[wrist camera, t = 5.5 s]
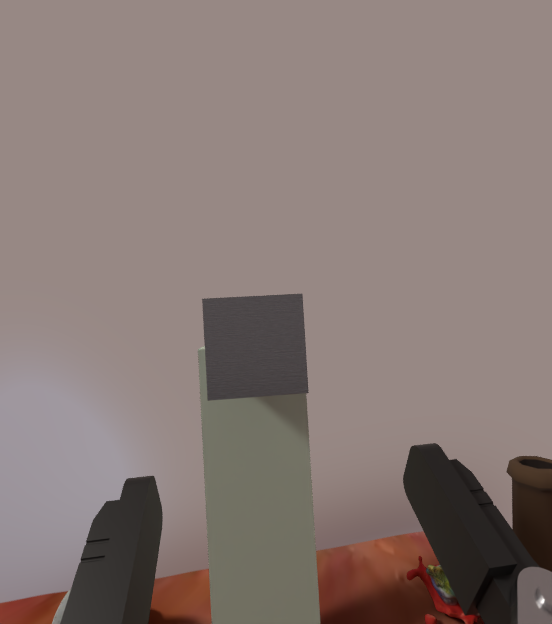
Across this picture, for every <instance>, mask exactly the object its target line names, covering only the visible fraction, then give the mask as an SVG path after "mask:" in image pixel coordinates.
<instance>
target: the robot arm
mask: <svg viewBox="0 0 552 624" xmlns="http://www.w3.org/2000/svg"><path fill="white" fill-rule="evenodd" d="M403 483H404V489H405V492H406V495H407V497H408V500H409V501H410V504H411V506H412V508H413V510H414V512H415V514H416V516H417V518H418V520H419V522H420V524H421V526H422V528H423V530H424V533H425V535H426V537H427V539H428V541H429V543H430V545H431V547H432V549H433V551H434V553H435V555H436V557H437V559H438V561H439V563H440V565H441V567H442V569H443V572H444V574H445V576H446V578H447V580H448V582H449V584H450V586H451V588H452V590H453V592H454V594H455V596H456V598H457V600H458V602H459V604H460V606H461V609H462V611H463V613H464V615H465V616H467V615H473V614H480V616H481V618H482V620H483V622H484V623H485V624H552V572H551V571H549V570H546V569H543V568H541V567H540V566H539V565H538V564H537V563H536V562H535V561H534V560H533V558H532V557H531V556H530V554H529V553H528V551H527V550H526V549H525V547H524V546H523V544H522V543H521V541H520V540H519V539H518V537H517V536H516V534H515V533H514V531H513V530H512V529H511V527H510V526H509V524H508V523H507V521H506V520H505V519H504V517H503V516H502V514H501V513H500V512H499V510H498V509H497V507H496V506H494V505H493V501H492V500H491V499H490V497H489V496H488V494H487V493H486V492H484V490H483V487H482V486H481V484H480V483H479V482H478V480H477V479H476V477H475V476H474V474H473V473H472V472H471V471H470V470H468V469H467V468H466V467H465V466H464V465H462V464H461V463H460V462H459V461H458V460H457V459H454V460H449V459H448V458H447V456H446V455H445V453H444V452H443V450H442V449H441V447H440V446H439V445H438V444H435V443H433V444H424V445H415V446H412V447H411V449H410V452H409V456H408V460H407V464H406V468H405V472H404V477H403ZM161 531H162V506H161V502H160V498H159V493H158V489H157V485H156V481H155V478H154V476H146V477H137V478H128V479H127V480H126V481H125V483H124V486H123V490H122V494H121V497H120V500H115V501H107V502H106V503H105V504H104V506H103V507H102V509H101V510H100V511H99V513H98V514H97V515H96V517H95V518H94V520H93V522H92V525H91V528H90V531H89V534H88V538H87V541H86V542H87V543H86V545H85V547H84V550H83V554H82V557H81V563H80V564H79V566H78V569H77V572H76V575H75V578H74V582H73V585H72V588H71V591H70V594H69V597H68V600H67V604H66V607H65V610H64V613H63V616H62V619H61V622H60V624H148V621H149V614H150V607H151V600H152V593H153V586H154V579H155V572H156V566H157V558H158V551H159V545H160V538H161Z"/></svg>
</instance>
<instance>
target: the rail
mask: <svg viewBox="0 0 552 624" xmlns="http://www.w3.org/2000/svg"><path fill="white" fill-rule="evenodd" d="M202 301H203V321H204V339H205V360H206V379H207V398H208V401H211V400H224V399H237V398H250V397H263V396H276V395H289V394H302V393H308V378H307V362H306V347H305V329H304V313H303V298H302V294H288V295H270V296H269V295H268V296H249V297H229V298H210V299H202Z"/></svg>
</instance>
